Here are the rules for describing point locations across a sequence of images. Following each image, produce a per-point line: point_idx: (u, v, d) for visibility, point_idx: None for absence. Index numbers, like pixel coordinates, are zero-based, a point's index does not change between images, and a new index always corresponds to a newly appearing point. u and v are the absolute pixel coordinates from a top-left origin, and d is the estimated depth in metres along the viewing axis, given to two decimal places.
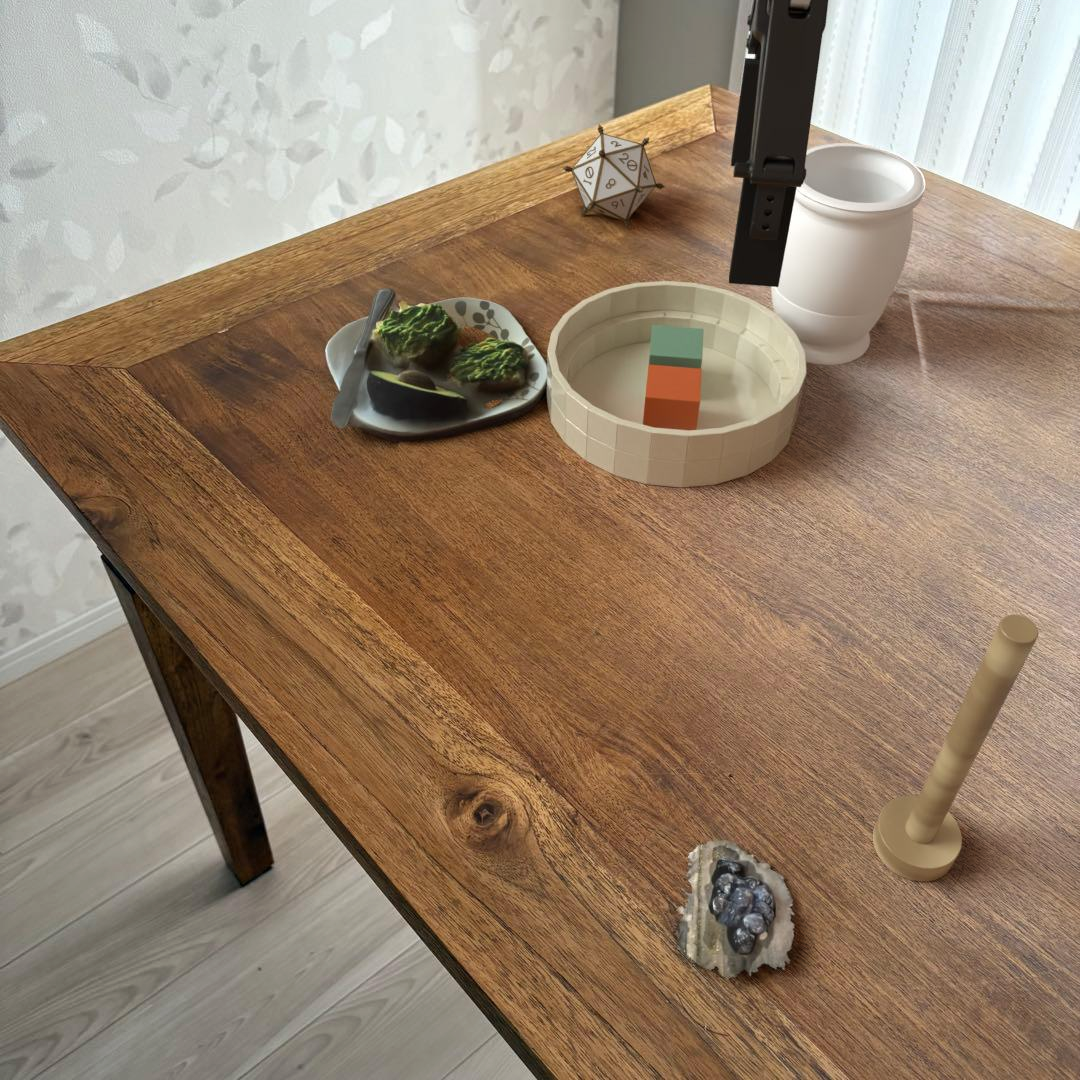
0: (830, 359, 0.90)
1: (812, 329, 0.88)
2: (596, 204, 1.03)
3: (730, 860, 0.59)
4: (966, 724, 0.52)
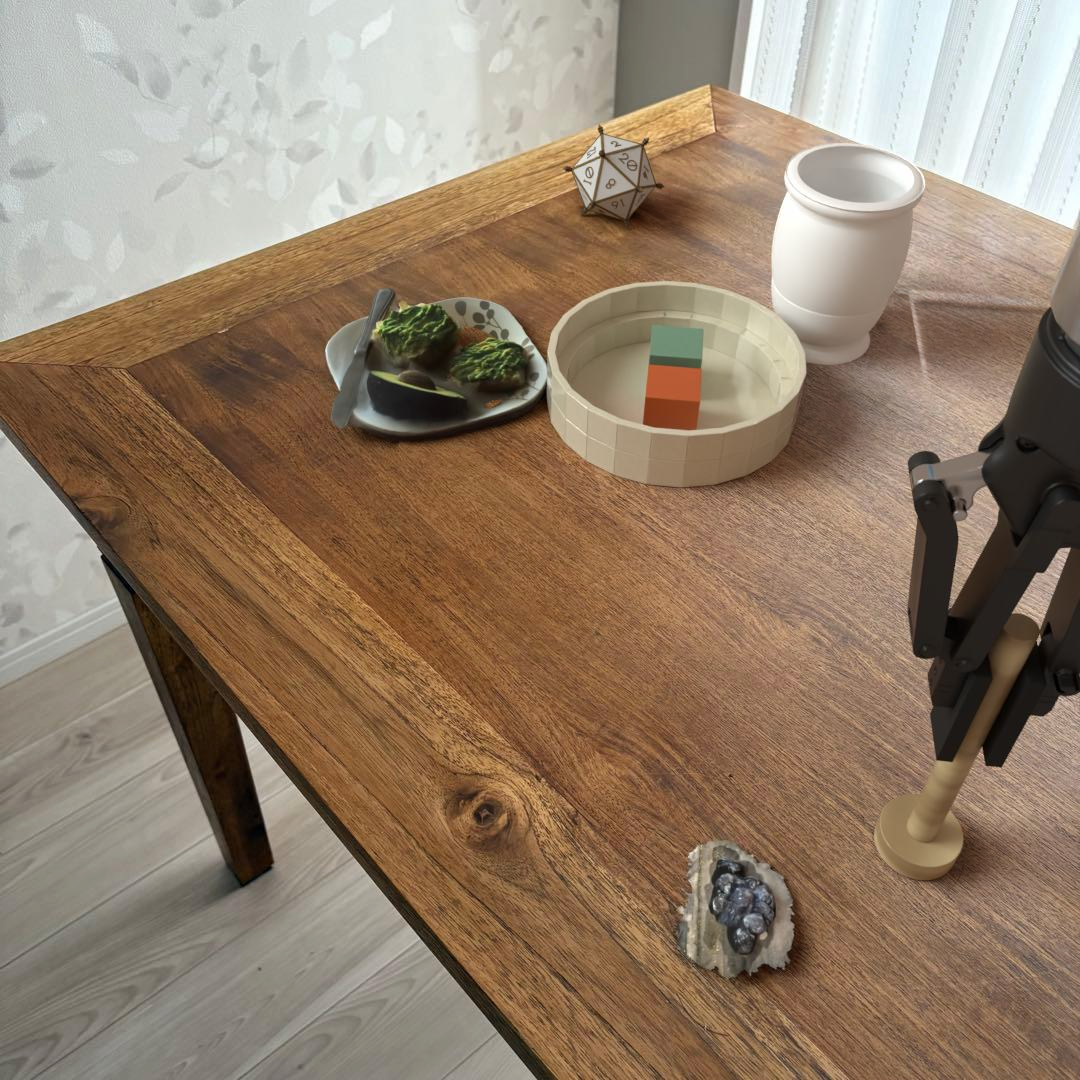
0: (830, 359, 0.90)
1: (812, 329, 0.88)
2: (596, 204, 1.03)
3: (730, 860, 0.59)
4: None
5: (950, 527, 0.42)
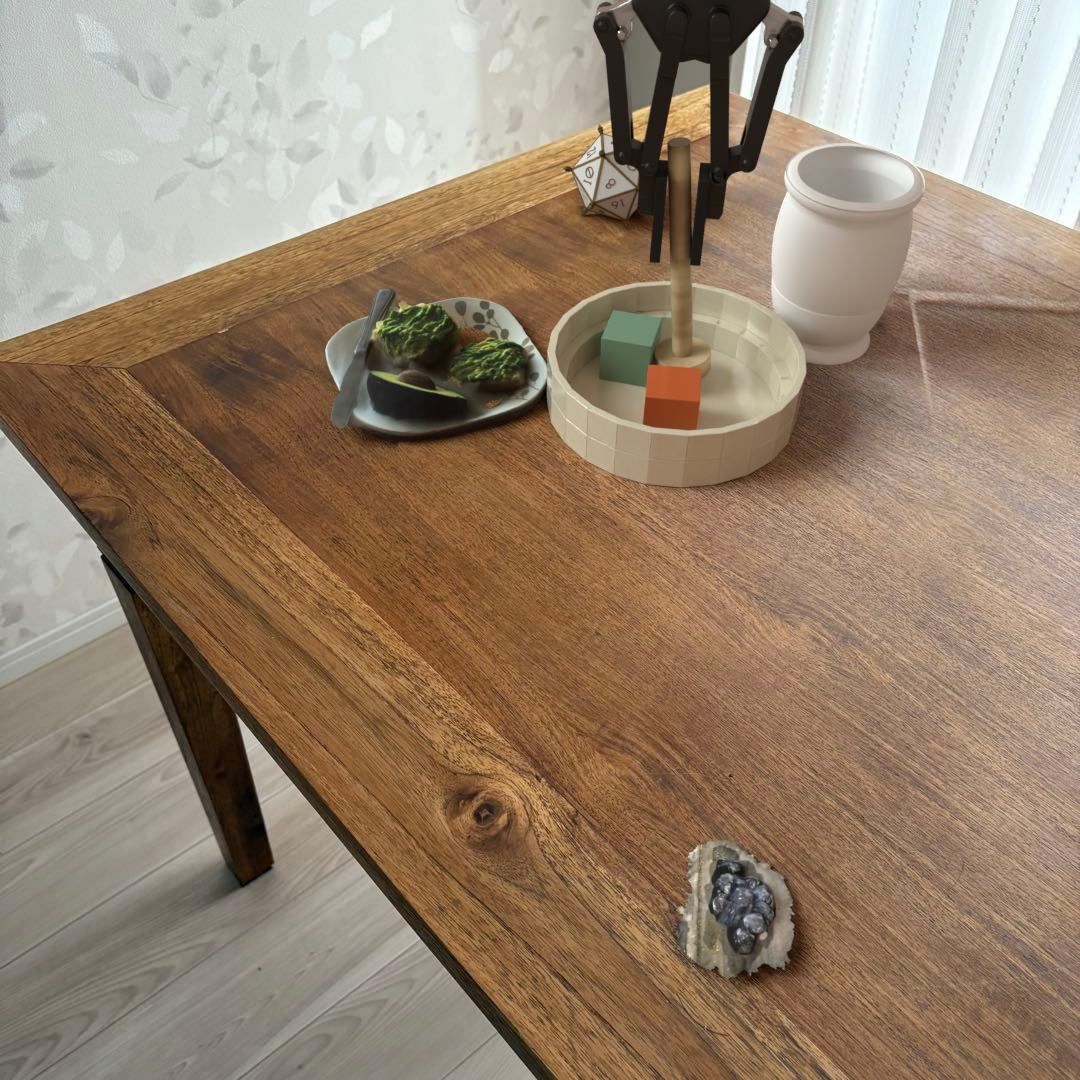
0: (830, 359, 0.90)
1: (812, 329, 0.88)
2: (596, 204, 1.03)
3: (730, 860, 0.59)
4: (672, 232, 0.79)
5: (617, 45, 0.70)
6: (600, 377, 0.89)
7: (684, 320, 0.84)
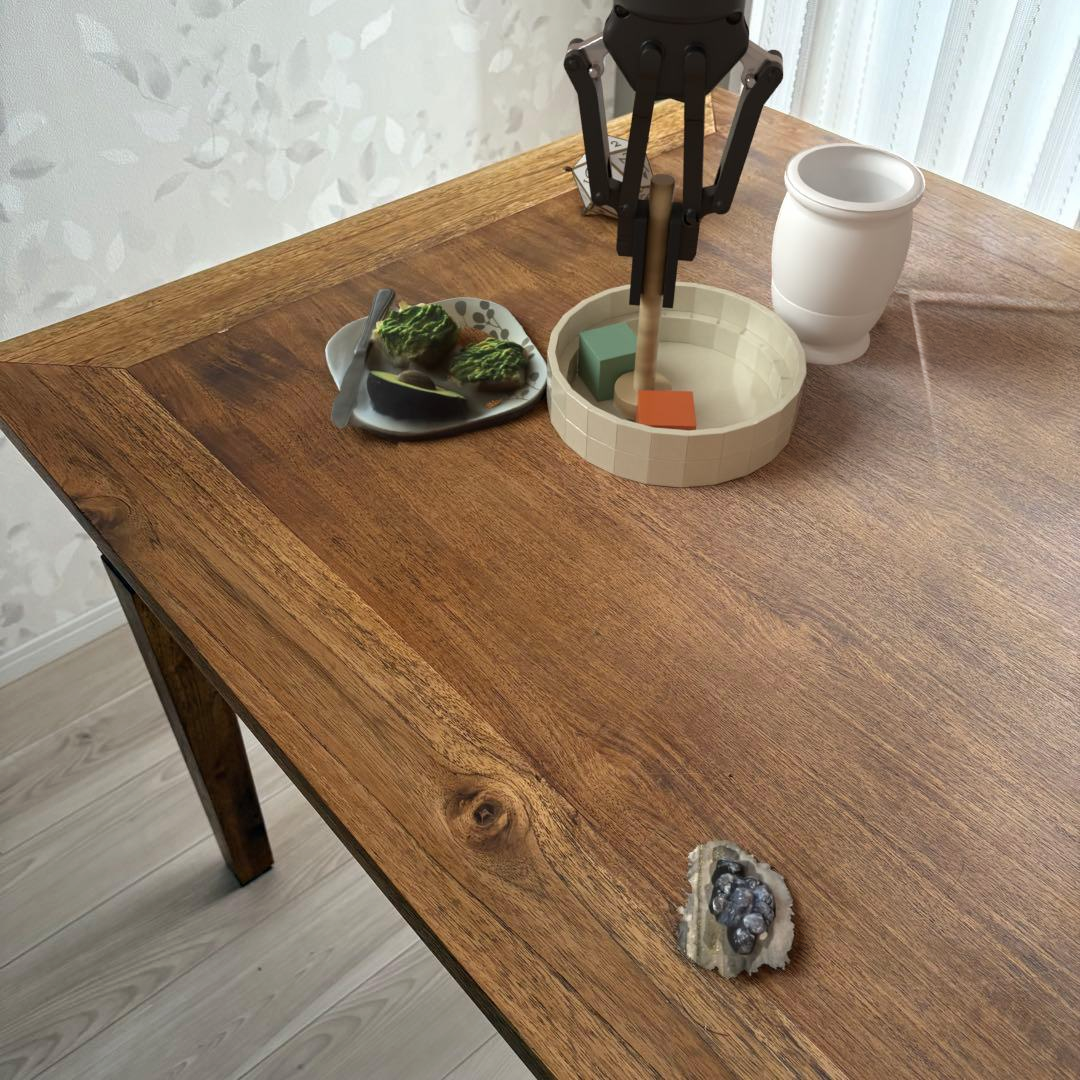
0: (830, 359, 0.90)
1: (812, 329, 0.88)
2: None
3: (730, 860, 0.59)
4: (644, 267, 0.76)
5: (590, 84, 0.66)
6: (578, 372, 0.89)
7: (644, 357, 0.81)
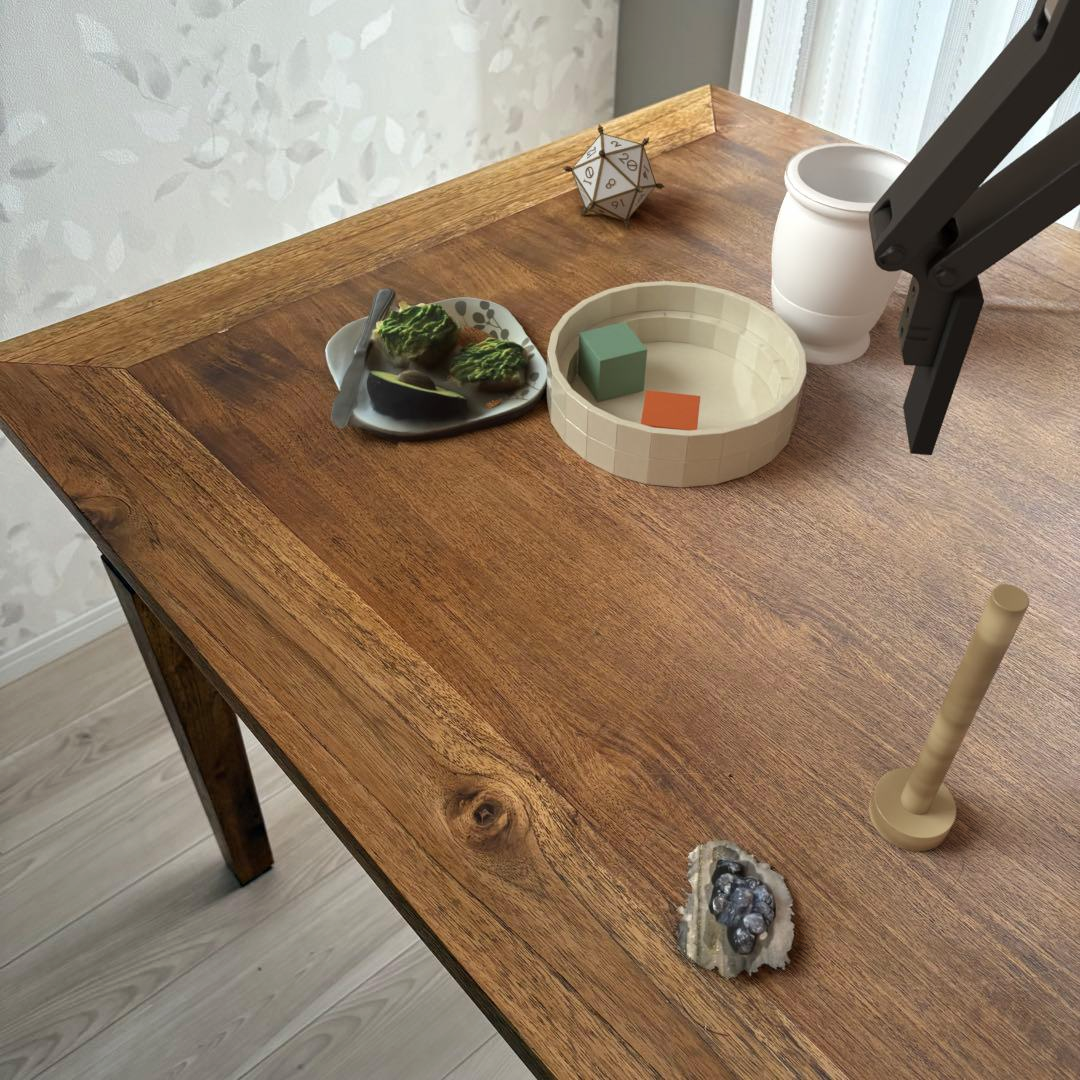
0: (830, 359, 0.90)
1: (812, 329, 0.88)
2: (596, 204, 1.03)
3: (730, 860, 0.59)
4: (954, 687, 0.53)
5: None
6: (578, 372, 0.89)
7: (929, 780, 0.58)
